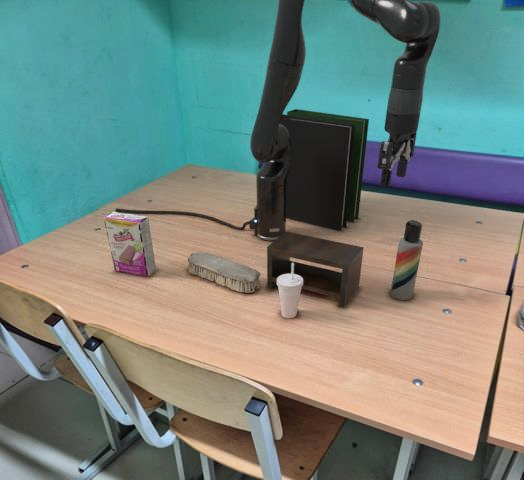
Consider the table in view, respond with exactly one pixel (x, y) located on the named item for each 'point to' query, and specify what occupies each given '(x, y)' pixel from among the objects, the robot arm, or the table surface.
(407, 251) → the lotion bottle
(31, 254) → the table surface
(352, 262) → the box
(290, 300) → the smoothie
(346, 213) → the binder
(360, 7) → the robot arm
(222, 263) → the shoe brush
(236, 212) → the table surface
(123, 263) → the candy bar box
